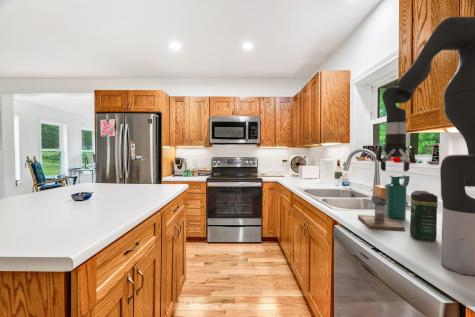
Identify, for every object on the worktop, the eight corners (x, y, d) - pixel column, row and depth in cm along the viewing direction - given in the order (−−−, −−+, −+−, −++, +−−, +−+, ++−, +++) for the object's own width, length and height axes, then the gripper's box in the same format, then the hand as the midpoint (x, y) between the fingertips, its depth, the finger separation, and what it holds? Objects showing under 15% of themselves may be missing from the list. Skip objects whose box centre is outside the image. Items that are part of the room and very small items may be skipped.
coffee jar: (439, 243, 91) (441, 193, 91) (414, 240, 94) (415, 192, 94) (430, 235, 100) (431, 190, 100) (407, 232, 103) (408, 188, 103)
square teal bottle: (388, 218, 125) (389, 175, 125) (382, 214, 133) (383, 174, 133) (410, 220, 123) (411, 176, 122) (403, 215, 131) (404, 174, 130)
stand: (404, 230, 106) (405, 208, 106) (369, 228, 109) (370, 207, 108) (387, 219, 123) (388, 200, 123) (358, 217, 126) (358, 199, 126)
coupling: (392, 205, 111) (392, 188, 110) (375, 204, 112) (375, 187, 112) (383, 201, 120) (384, 185, 120) (368, 200, 121) (368, 184, 121)
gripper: (380, 133, 103) (379, 171, 103) (418, 132, 100) (417, 172, 100) (374, 134, 110) (373, 170, 111) (409, 133, 107) (408, 170, 108)
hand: (394, 171), depth 106 cm, fingers open, 8 cm apart
